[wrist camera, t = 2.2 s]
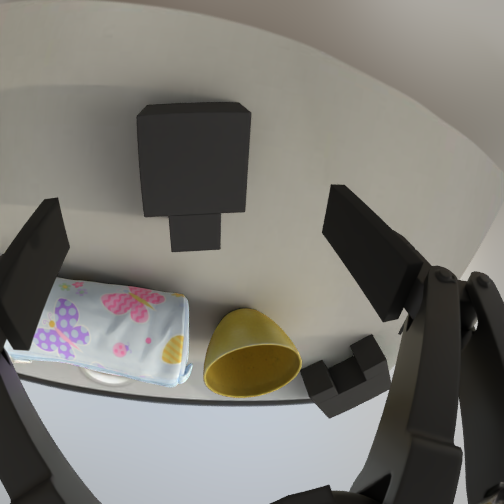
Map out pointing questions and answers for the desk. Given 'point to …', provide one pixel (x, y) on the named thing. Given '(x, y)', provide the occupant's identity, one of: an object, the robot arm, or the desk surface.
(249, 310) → the flower pot
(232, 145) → the tab pad
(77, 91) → the desk surface
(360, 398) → the notch pad
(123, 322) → the pencil case
